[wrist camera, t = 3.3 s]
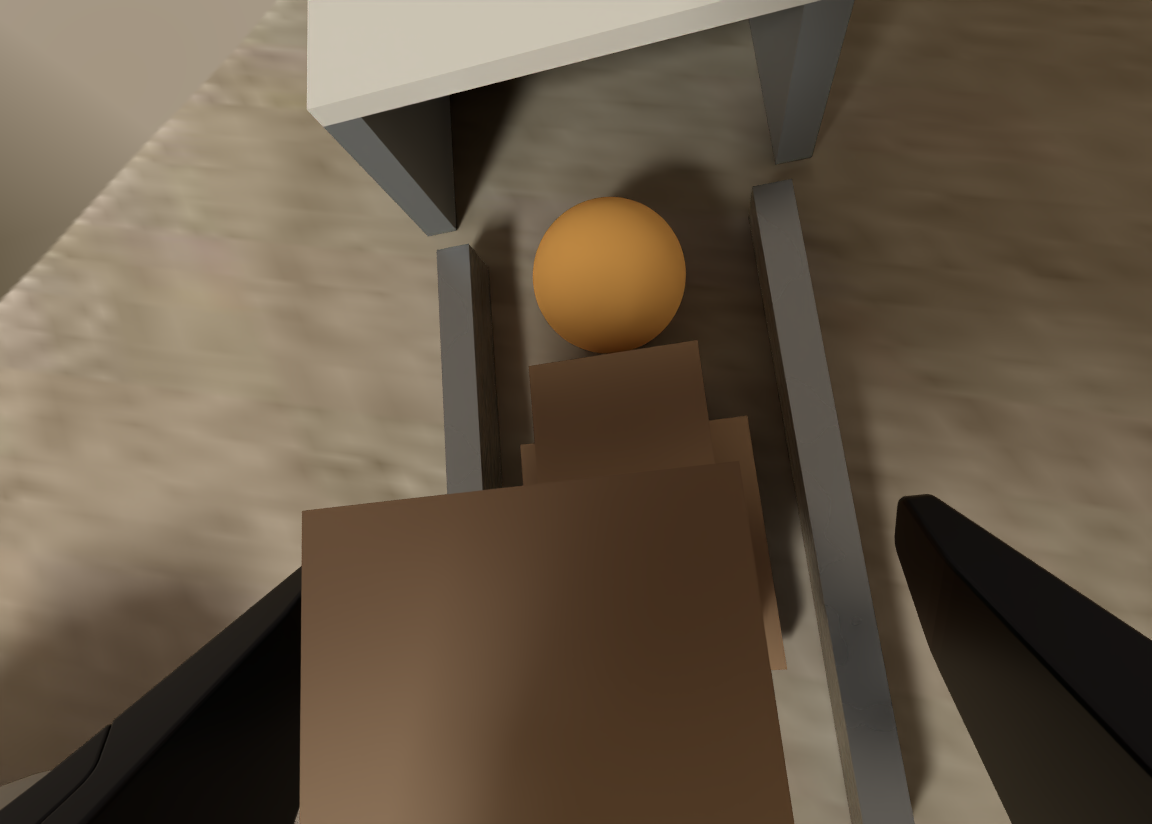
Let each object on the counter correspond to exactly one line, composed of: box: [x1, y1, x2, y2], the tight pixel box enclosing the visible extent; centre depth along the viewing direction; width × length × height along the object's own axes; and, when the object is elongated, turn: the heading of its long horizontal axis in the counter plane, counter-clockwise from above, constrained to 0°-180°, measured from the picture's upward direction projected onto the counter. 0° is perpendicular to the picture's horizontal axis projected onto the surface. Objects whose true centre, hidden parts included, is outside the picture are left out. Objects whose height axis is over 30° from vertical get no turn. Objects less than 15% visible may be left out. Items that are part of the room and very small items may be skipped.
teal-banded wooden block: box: [300, 340, 794, 824], centre depth 10 cm, size 8×6×11 cm
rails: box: [437, 179, 915, 824], centre depth 15 cm, size 16×10×2 cm, turn 5°
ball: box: [533, 197, 686, 354], centre depth 16 cm, size 4×4×4 cm
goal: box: [307, 0, 854, 236], centre depth 16 cm, size 7×12×6 cm, turn 95°
